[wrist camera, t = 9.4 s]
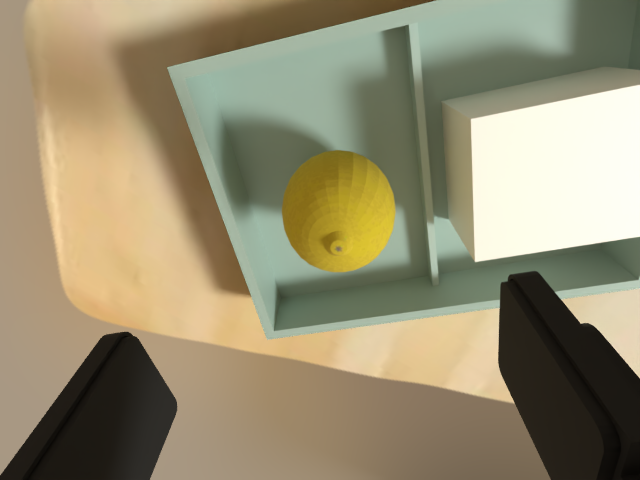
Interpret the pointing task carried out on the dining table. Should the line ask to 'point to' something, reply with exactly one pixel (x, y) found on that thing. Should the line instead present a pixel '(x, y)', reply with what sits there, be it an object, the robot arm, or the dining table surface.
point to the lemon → (338, 211)
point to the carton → (545, 163)
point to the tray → (390, 150)
